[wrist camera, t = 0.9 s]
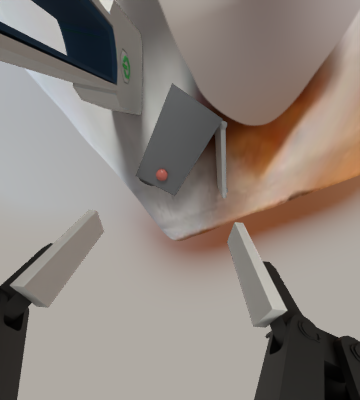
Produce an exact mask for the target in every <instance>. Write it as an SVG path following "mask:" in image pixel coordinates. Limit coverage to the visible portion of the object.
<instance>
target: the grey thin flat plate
mask: <svg viewBox="0 0 360 400" xmlns="http://www.w3.org/2000/svg"><path fill="white" fill-rule="evenodd" d="M226 127H227V122H225V121H222V122H221V123H220V125H219V126H218V128H217V129H216V131H215V147H216V167H217V186H218V189H219V191H220V193H221V196H222V198H226V193H227V192H228V189H227V187H226Z"/></svg>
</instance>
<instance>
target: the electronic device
mask: <svg viewBox="0 0 360 400" xmlns="http://www.w3.org/2000/svg"><path fill="white" fill-rule="evenodd" d="M32 1H33V2H34V3H36V4H37V5H38V6H40V7H41V8H42V9H44V10H45V11H46V12H48V13H49V14H50V15H52V16H53V17H54V18H56V19H57V21H58V24H59V26H60V29H61V32H62V36H63V39H64V43H65V48H66V52H67V55H65V54H63V53H61V52H59V51H57V50H55V49H53V48H51V47H49V46H47V45H45V44H43V43H41V42H39V41H37V40H35V39H33V38H31V37H29V36H27V35H25V34H23V33H21V32H19V31H18V30H16V29H14V28H12V27H10V26H8V25H6V24H4V23H2V22H0V61H3V62H6V63H10V64H13V65H16V66H19V67H23V68H26V69H29V70H33V71H36V72H39V73H43V74H46V75H49V76H53V77H56V78H59V79H62V80H66V81H69V82H72V83H73V87H74V89H75V90H76V92H77V93H78V95H79V97H80V98H81V100H84V101H87V102H89V103H92V104H95V105H98V106H100V107H103V108H106V109H110V110H114V111H119V112H124V113H130V114H135V115H141V112H142V40H141V34H140V32H139V31H138V30H137V28H136V27H135V26H134V25H133V23H132V22H131V21H130V20H129V18H128V17H127V16H126V14H125V13H124V12H123V11H122V9H121V8H120V7H119V6H118V4H117V3H116V2H115V1H114V0H32Z"/></svg>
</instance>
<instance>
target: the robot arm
mask: <svg viewBox="0 0 360 400" xmlns="http://www.w3.org/2000/svg"><path fill="white" fill-rule="evenodd" d="M103 232H104V230H103V227H102V224H101V221H100V219H99V215H98V212H97V211H93V210H89V211H87V212H86V214H84V215H83V216H82V217H81V218H80V219H79V220H78V221H77V222H76V223H75V224H74V225H73V226H72V227H71V228H70V229H68V230H67V231H66V232H65V233H64V234H63V235H62V236H61V237H60V238H59V239H58V240H57V241H56V242H55V243H54V244H52V243H50V244H49V245H47V246H45V247H44V248H42V249H41V250H40V251H38V252H37V253H36V254H35V255H34V257H32V258H31V259H30V260H29V261H28V262H27V263H25V264H24V265H23V266H22V267H21V268H20V269H19V270H18V271H16V273H14V274H13V275H12V276H11V277H10V278H9V279H8V280H6V281H5V282H4V283H3V284H2V285H1V286H0V400H17V396H18V389H19V380H20V374H21V367H22V360H23V352H24V345H25V338H26V330H27V323H28V316H29V308H28V306H29V305H30V304H31V303H33V304H34V305H36V306H38V307H49V306H50V305H51V303H52V302H53V301H54V299H55V298H56V296H57V295H58V293H59V292H60V291H61V290H62V288H63V287H64V285H65V284H66V283H67V281H68V280H69V279H70V277H71V276H72V275H73V273H74V272H75V270H76V269H77V268H78V266H79V265H80V264H81V262H82V261H83V259H84V258H85V257H86V255H87V254H88V253H89V251H90V250H91V249H92V247H93V246H94V244H95V243H96V242H97V240H98V239H99V238H100V236H101V235H102V233H103ZM227 243H228V246H229V249H230V252H231V256H232V259H233V262H234V265H235V269H236V272H237V275H238V278H239V282H240V285H241V288H242V291H243V294H244V298H245V301H246V304H247V308H248V311H249V314H250V317H251V321H252V323H253V326H255V327H267V326H268V325H269V324H270V327H271V329H272V331H271V332H269V333H268V334H267V335H266V338H269V337H270V338H269V342H268V346H267V350H266V354H265V358H264V362H263V366H262V370H261V374H260V378H259V382H258V386H257V390H256V394H255V399H254V400H360V342H359V341H358V340H356V339H355V338H352V337H350V336H343V337H340V338H338V337H336V336H334V335H332V334H329V333H327V332H325V331H323V330H320V329H319V328H317V327H316V326H315V325H314V324H313V323H312V322H311V321H310V320H308V319H307V318H306V317H304V316H303V315H302V313H301V312H300V310H299V309H298V307H297V305H296V303H295V302H294V300H293V298H292V297H291V295H290V293H289V291H288V289H287V288H286V286H285V285H284V282H283V281H282V279H281V278H280V275H279V274H278V272H277V270H276V269H275V268H274V267H273V266H272V265H271V263H270V262H263V261H262V260H261V258H260V256H259V254H258V252H257V250H256V248H255V246H254V244H253V242H252V240H251V238H250V236H249V234H248V232H247V230H246V228H245V227H244V224H243V223H237V222H235V223H234V225H233V228H232V231H231V233H230V236H229V238H228V241H227Z"/></svg>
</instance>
